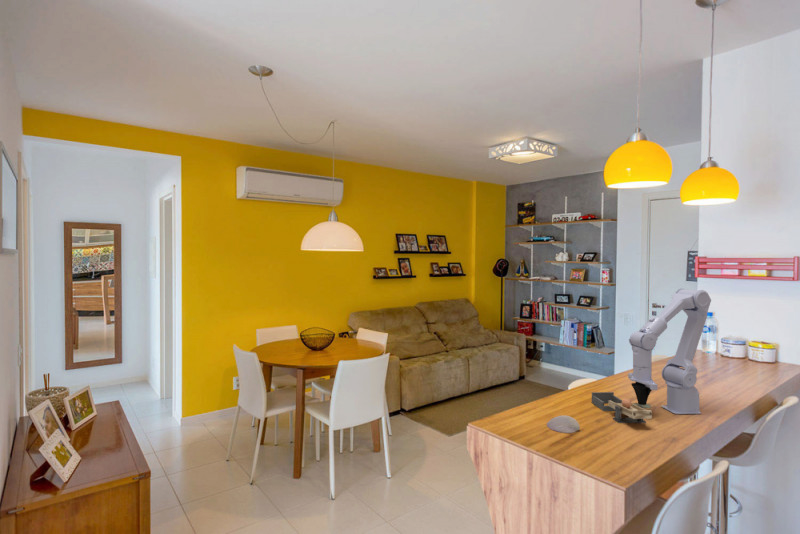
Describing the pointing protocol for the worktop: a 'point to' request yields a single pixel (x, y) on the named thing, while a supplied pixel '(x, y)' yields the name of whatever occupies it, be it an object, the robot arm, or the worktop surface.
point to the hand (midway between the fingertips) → (642, 404)
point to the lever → (634, 410)
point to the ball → (626, 403)
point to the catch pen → (604, 400)
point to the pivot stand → (626, 419)
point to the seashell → (563, 424)
